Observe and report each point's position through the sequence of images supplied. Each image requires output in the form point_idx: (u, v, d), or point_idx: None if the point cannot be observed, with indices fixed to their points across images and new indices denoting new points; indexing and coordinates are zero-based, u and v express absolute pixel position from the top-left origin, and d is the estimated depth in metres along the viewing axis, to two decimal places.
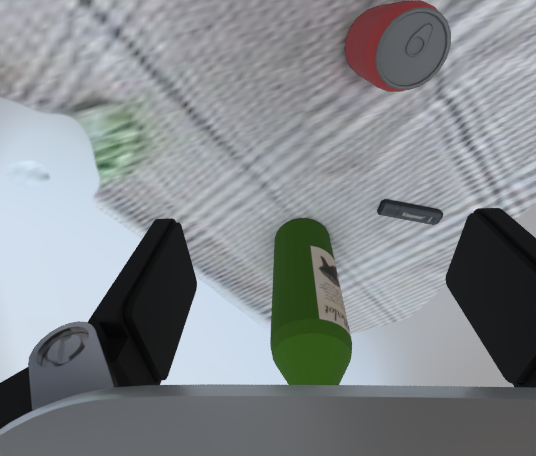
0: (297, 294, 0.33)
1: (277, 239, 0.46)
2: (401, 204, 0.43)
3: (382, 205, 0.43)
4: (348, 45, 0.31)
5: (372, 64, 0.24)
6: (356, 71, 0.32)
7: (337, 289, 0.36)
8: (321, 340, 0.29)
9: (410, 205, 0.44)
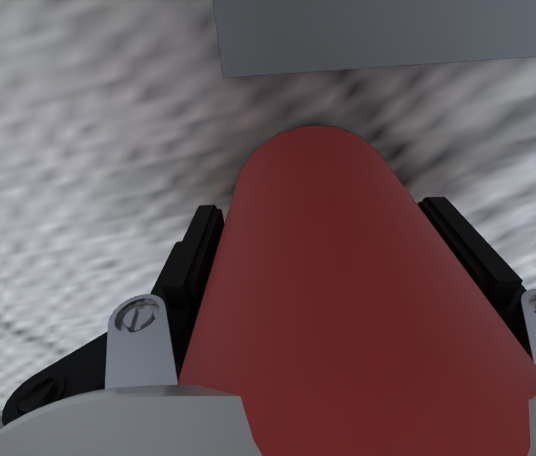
0: None
1: None
2: None
3: None
4: None
5: None
6: None
7: None
8: None
9: None
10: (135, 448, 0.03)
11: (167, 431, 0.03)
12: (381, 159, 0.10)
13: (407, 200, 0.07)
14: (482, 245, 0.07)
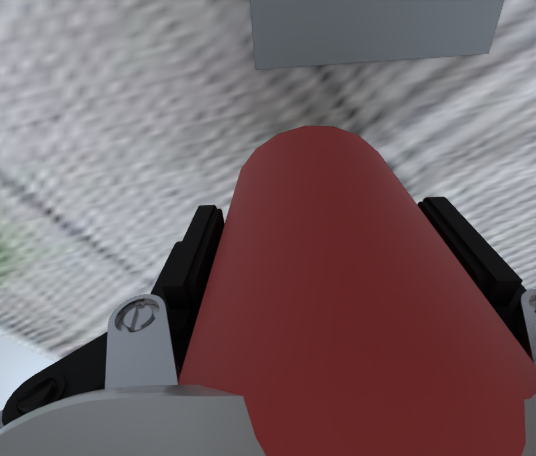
0: None
1: None
2: None
3: None
4: None
5: None
6: None
7: None
8: None
9: None
10: (135, 448, 0.03)
11: (167, 431, 0.03)
12: (381, 159, 0.10)
13: (407, 200, 0.07)
14: (482, 245, 0.07)
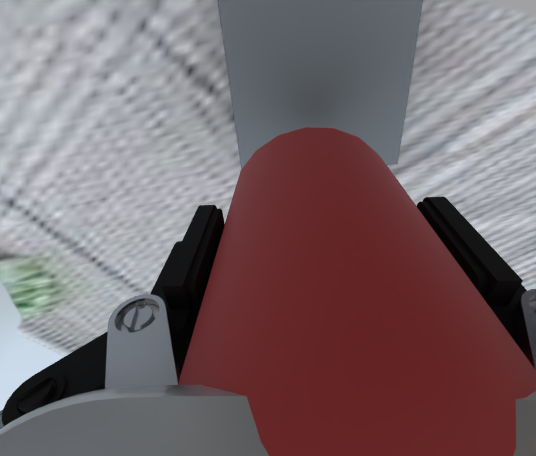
0: None
1: None
2: None
3: None
4: None
5: None
6: None
7: None
8: None
9: None
10: (135, 448, 0.03)
11: (167, 431, 0.03)
12: (381, 161, 0.10)
13: (406, 202, 0.07)
14: (482, 245, 0.07)
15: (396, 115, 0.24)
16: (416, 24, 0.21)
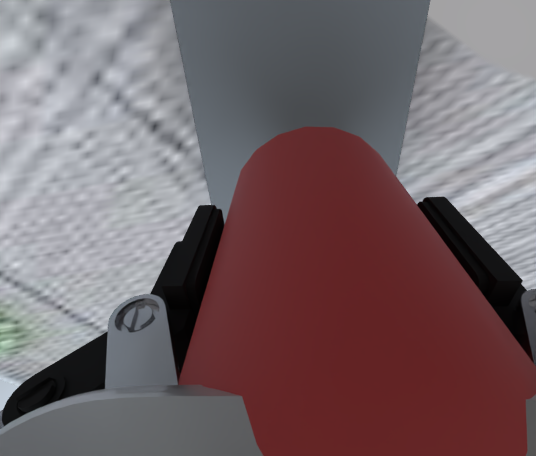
0: None
1: None
2: None
3: None
4: None
5: None
6: None
7: None
8: None
9: None
10: (135, 448, 0.03)
11: (167, 431, 0.03)
12: (381, 160, 0.10)
13: (407, 201, 0.07)
14: (482, 245, 0.07)
15: None
16: (410, 89, 0.18)
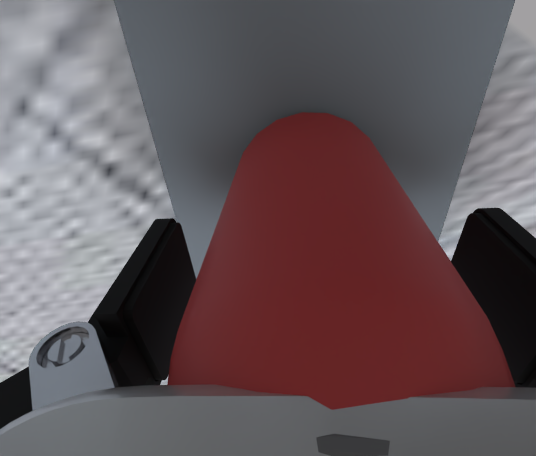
0: None
1: None
2: None
3: None
4: None
5: None
6: None
7: None
8: None
9: None
10: (135, 448, 0.03)
11: (167, 431, 0.03)
12: (370, 142, 0.11)
13: (386, 174, 0.08)
14: None
15: None
16: (470, 125, 0.13)
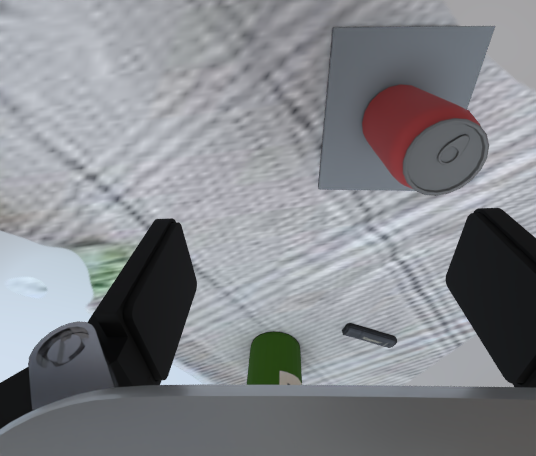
0: None
1: (252, 350, 0.51)
2: (363, 330, 0.49)
3: (347, 329, 0.49)
4: (367, 123, 0.29)
5: (398, 165, 0.22)
6: None
7: None
8: None
9: (370, 331, 0.50)
10: (135, 448, 0.03)
11: (167, 431, 0.03)
12: None
13: None
14: None
15: None
16: (469, 95, 0.29)
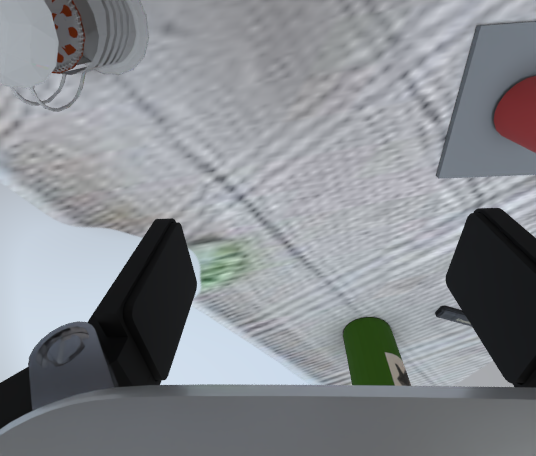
0: None
1: (348, 335, 0.54)
2: (457, 311, 0.52)
3: (442, 311, 0.51)
4: (506, 113, 0.31)
5: None
6: (511, 138, 0.31)
7: None
8: None
9: None
10: (135, 448, 0.03)
11: (167, 431, 0.03)
12: None
13: None
14: None
15: None
16: None
